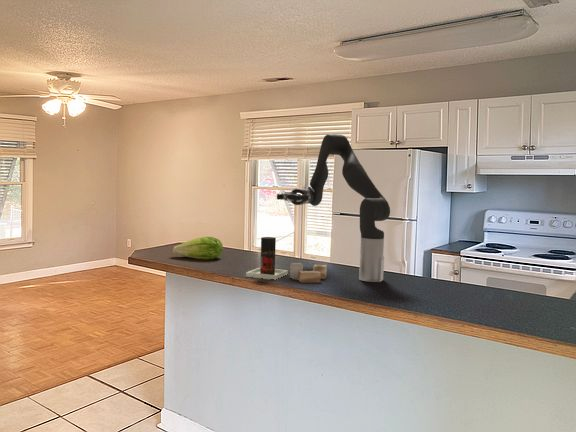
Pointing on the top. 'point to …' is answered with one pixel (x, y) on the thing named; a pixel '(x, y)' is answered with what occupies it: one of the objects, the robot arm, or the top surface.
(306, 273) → the beech brick
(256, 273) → the tray
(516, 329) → the top surface
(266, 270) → the deodorant
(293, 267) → the grey cylinder
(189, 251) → the lettuce
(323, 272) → the maple cube
